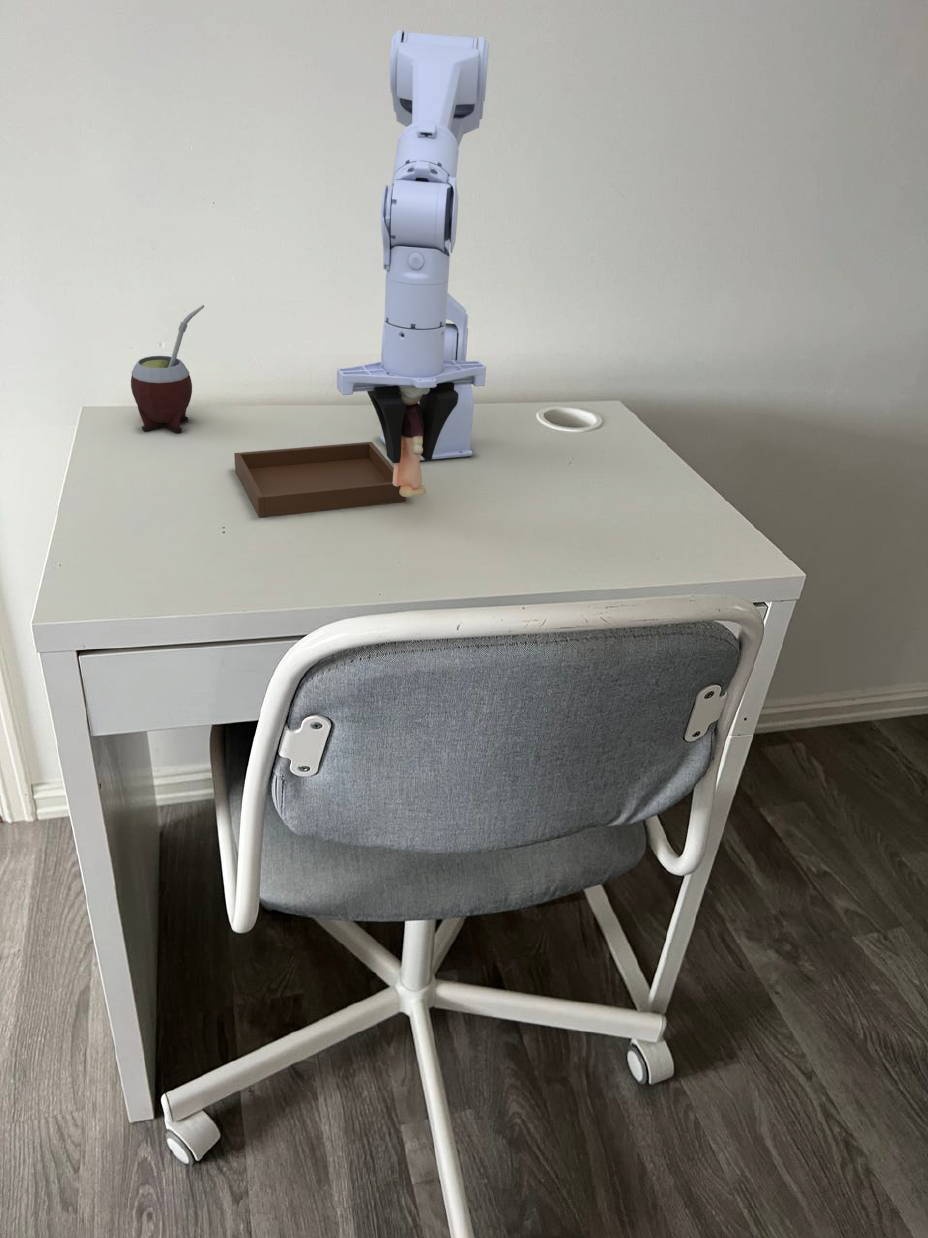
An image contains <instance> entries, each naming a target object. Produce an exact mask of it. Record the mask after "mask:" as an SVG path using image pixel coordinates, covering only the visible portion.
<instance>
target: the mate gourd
mask: <svg viewBox="0 0 928 1238" xmlns="http://www.w3.org/2000/svg"><path fill="white" fill-rule="evenodd" d="M203 309H205V305H204V304H203V305H201V306H199V307H197V308H196V309H195V310H193V311H191V312H190V313H188V315H187V316H186V317H184V318H183V320H182V321H180V323H179V326H178V333H177V336H176V340H175V343H174V347H173V350H172V354H171V356H169V355H151V356H146V357H145V356H144V357H143V358H140V359H138V360H137V362H136V363H135V365H134V366H133V368H132V370H131V376H130V377H131V378H130V389H131V394H132V395H133V399H134V401H135V404H136V406H137V411H138V413H139V416H140V418H141V420H142V423H143V426H141V430H142V432H144V433H146V432H152V431H154V430H159V429H167V430H169V431H171V432H173V433H175V434H181V433H183V428H182V427H181V426H180V424H183V423H187V422H189V416H187V409H188V407H189V405H190V404H191V403H190V402H191V399H192V394H193V383H192V377H191V374H190V371H189V370H188V367H187V366H186V365H185V363H184V362H183V361H182V360H181V359H180V358H178V354H179V350H180V347H181V344H182V340H183V337H184V333H186V330H187V328H188V324H189V322H190V321H191V320H192V319H193V318H194V317H195V316H196V315H197V314H198V313H199V312H201V311H202V310H203Z"/></svg>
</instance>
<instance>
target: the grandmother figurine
mask: <svg viewBox="0 0 928 1238" xmlns="http://www.w3.org/2000/svg"><path fill="white" fill-rule="evenodd" d="M397 386H398V387H399V389H398V392H399V393H401V400H402V401H403V402H404V403H405V404H406V409H405V413H404V418H403V425H402V432H401V459H400V463H393V467H394V471H393V482H392V483H393V485H394V486H396V487H397V486H401V487H400V490H399V493H400V495H401V496H403V497H406V498H414V497H419V496H424V495H426V494H427V489H426V487H425V486H424V485H422V484H423V473H422V468H421V462H420V458H421V454H422V452H423V448H422V443H423V432H424V422H423V419H422V412H421V408H420V405H419V404H418V402H419V400H420V399H421V397H422V395H423V394H427V393H428V392H429V391H430V388H417V387H415V386H404V385H397Z"/></svg>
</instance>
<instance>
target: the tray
mask: <svg viewBox="0 0 928 1238" xmlns="http://www.w3.org/2000/svg"><path fill="white" fill-rule="evenodd" d="M233 454H234V455H233V457H234V472H235V474H236V476H237V478H238V479H239V482H240V484H241V485H242V487H243V489H244V491H245V493H246V495H247V497H248V499H249V501H250V504H251V505H252V508H253V509H254V511H255V513H256V515H257V516H258V518H267V517H268V518H269V517H277V516H286V515H287V516H288V515H295V514H304V513H311V512H312V513H313V512H322V511H333V510H341V509H350V508H361V507H370V506H378V505H388V504H396V503H405V502H407V497H403V496H401V495H400V493H399V490H400V487H401V486H397V487H396V486H394V485H393V483H392V482H393V471H394V465H392V464H391V462H390V461H389V460H388V458H386V456H385V455H384V454H383V453H382V452H381V450H379V448H378V446H376V445H375V443H374V442H373V441H362V442H351V443H340V444H327V445H315V446H304V447H303V446H302V447H291V448H290V447H289V448H278V449H266V450H255V451H244V452H242V451H241V452H234V453H233Z"/></svg>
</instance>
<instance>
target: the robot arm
mask: <svg viewBox="0 0 928 1238" xmlns="http://www.w3.org/2000/svg"><path fill="white" fill-rule="evenodd" d="M489 49H490V43H489V42H488V40H487V39H486V37H485V36H484V35H483V36H482V35H479V37H474V36H473V37H472V36H461V35H460V36H459V35H451V34H449V35H447V34H437V33H426V32H425V33H424V32H413V31H405V30H404V29H397V30H396V32H395V33H394V34H393V35H392V37H391V44H390V56H389V57H390V59H389V88H390V90H389V91H390V93H391V97H392V107H393V112H394V113H395V118H396V121H397V123H399V124H400V125H402V126H404V127H405V128H404V129H403V130H402V131H401V132H400V134H399V136H398V140H397V143H396V151H395V157H394V165H393V171H392V178H391V185H388V184H385V185H384V188H383V192H382V195H381V198H382V199H381V208H380V234H381V241H382V250H383V251H382V252H383V253H382V254H383V256H382V258H383V259H382V260H383V262H382V263H383V267H382V268H383V270H385V271H386V273H385V283H384V284H385V287H384V288H385V289H384V319H383V320H384V321H383V328H382V335H381V352H380V353H381V354H380V356H381V361H377V362H373V363H367V364H362V365H357V366H352V367H342V368H336V389H337V391H338V392H339V393H340V394H341V395H342V396H349V395H350V396H351V395H353V394H354V393H358V392H359V393H361V392H367V395H368V397H369V399H370V401H371V403H372V405H373V408H374V410H375V412H376V413H375V414H376V416H377V418H378V421H379V423H380V427H381V430H382V434H380V436H379V439H380V441H381V442H382V443H383V444H384V445H385V450H386V457H387V459H389V460H390V462H391V463H392V464H394V463H400V459H401V432H402V425H403V418H404V413H405V409H406V404H405V403H404V402H403V401H402V400H401V393H399V392H398V389H399V387H398V386H397V385H404V386H415V387H417V388H430V391H429V392H428V393H427V394H423V395H422V397H421V399H420V400H419V402H418V404H419V405H420V408H421V412H422V419H423V422H424V432H423V443H422V448H423V452H422V454H421V458H420V461H432V460H441V459H450V458H451V459H452V458H463V457H472V456H473V451H472V450H471V444H472V431H473V421H474V420H473V419H474V404H475V403H474V392H473V388H472V385H473V386H474V387H485V385H486V376H487V366H486V365H485V364H483V363H481V362H480V360H467V351H468V337H469V328H468V322H469V315H468V313H467V310H466V308H465V307H464V306H463V305H462V304H461V303H460V302H459V301H457V299H455V298H454V297H453V296H452V295H451V294H450V293H449V277H450V260H451V254H453V252H454V247H455V244H456V239H457V227H458V212H459V193H458V187H457V184H458V183H457V179H458V178H457V173H458V162H459V154H460V153H459V151H460V150H459V148H460V145H461V142H462V139H463V136H464V135H466V134H468V133H471V132H473V131H475V130H477V129H480V123H481V120H482V119H483V117H484V116H483V115H484V104H485V103H484V102H486V91H487V89H486V88H487V76H488V66H489V65H488V63H489V51H490V50H489ZM447 320H448V321H450V323H449V322H447ZM451 322H452V323H451ZM420 461H419V462H420Z"/></svg>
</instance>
